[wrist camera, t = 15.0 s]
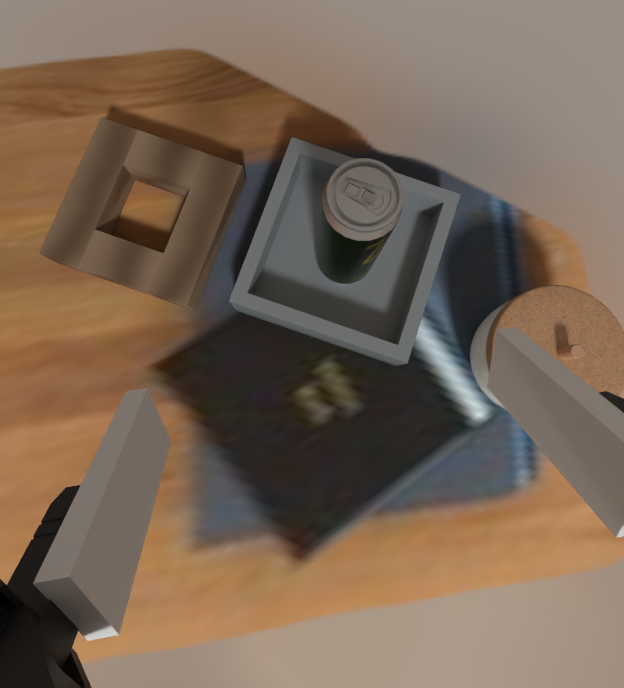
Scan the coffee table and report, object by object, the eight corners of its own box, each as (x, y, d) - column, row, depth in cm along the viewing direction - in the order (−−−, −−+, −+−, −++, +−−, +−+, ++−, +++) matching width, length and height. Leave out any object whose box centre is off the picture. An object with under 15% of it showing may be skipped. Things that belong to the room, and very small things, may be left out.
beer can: (306, 271, 36) (308, 212, 24) (330, 222, 36) (345, 141, 24) (357, 295, 35) (385, 249, 24) (381, 246, 36) (420, 176, 24)
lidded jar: (460, 423, 35) (517, 435, 26) (444, 311, 37) (493, 285, 27) (570, 411, 36) (665, 419, 27) (551, 301, 37) (635, 271, 28)
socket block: (57, 262, 36) (39, 253, 34) (114, 135, 38) (101, 117, 35) (195, 310, 36) (187, 304, 33) (246, 180, 38) (242, 165, 35)
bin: (236, 310, 36) (228, 301, 32) (292, 163, 38) (291, 136, 34) (395, 365, 36) (407, 363, 32) (443, 214, 38) (460, 194, 34)
